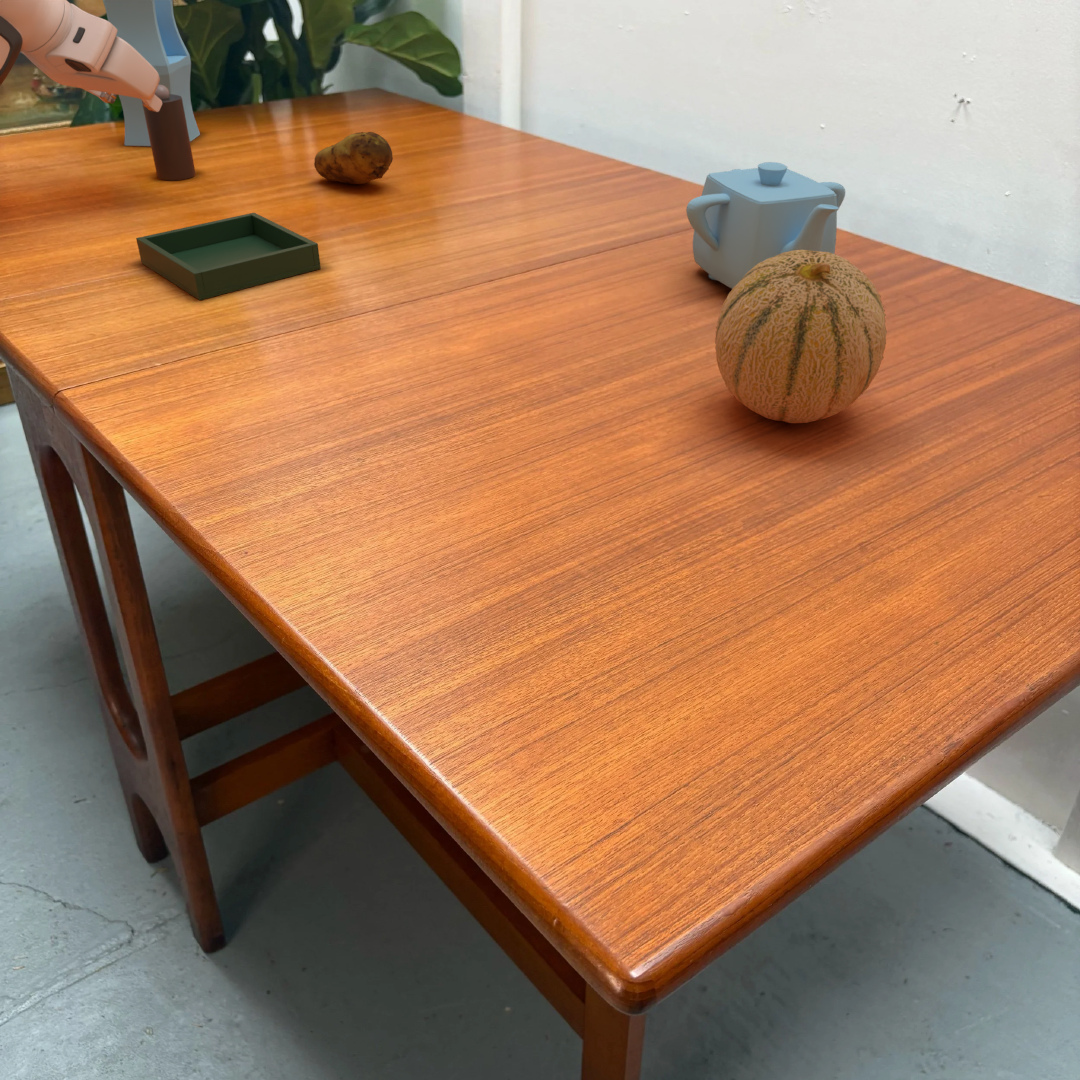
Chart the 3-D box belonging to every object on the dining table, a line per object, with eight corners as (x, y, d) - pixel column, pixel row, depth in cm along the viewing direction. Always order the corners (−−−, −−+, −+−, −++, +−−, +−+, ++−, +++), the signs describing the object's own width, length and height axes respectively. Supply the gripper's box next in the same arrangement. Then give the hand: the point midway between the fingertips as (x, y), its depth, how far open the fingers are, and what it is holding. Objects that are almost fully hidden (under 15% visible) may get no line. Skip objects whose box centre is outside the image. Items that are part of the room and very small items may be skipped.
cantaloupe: (808, 366, 101) (834, 214, 92) (904, 433, 90) (944, 268, 81) (676, 391, 96) (690, 234, 87) (761, 465, 85) (787, 293, 76)
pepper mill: (166, 182, 151) (148, 90, 144) (151, 174, 155) (132, 84, 147) (202, 176, 154) (185, 85, 147) (185, 168, 158) (169, 79, 150)
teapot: (662, 291, 117) (672, 170, 109) (716, 249, 129) (728, 138, 121) (817, 324, 110) (839, 197, 102) (859, 276, 121) (882, 160, 114)
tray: (199, 300, 114) (194, 273, 112) (141, 263, 123) (135, 237, 122) (320, 268, 122) (317, 243, 120) (257, 236, 132) (254, 212, 130)
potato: (358, 171, 157) (353, 116, 152) (403, 191, 149) (399, 133, 144) (310, 180, 153) (303, 124, 148) (354, 201, 144) (348, 142, 140)
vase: (182, 147, 168) (150, -25, 154) (124, 145, 169) (87, -27, 154) (203, 132, 176) (174, -32, 162) (147, 131, 177) (114, -34, 162)
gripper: (-3, 50, 136) (77, 113, 149) (97, 66, 127) (174, 132, 140) (16, 9, 137) (95, 75, 149) (118, 22, 128) (193, 91, 140)
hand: (134, 103), depth 144 cm, fingers open, 8 cm apart
